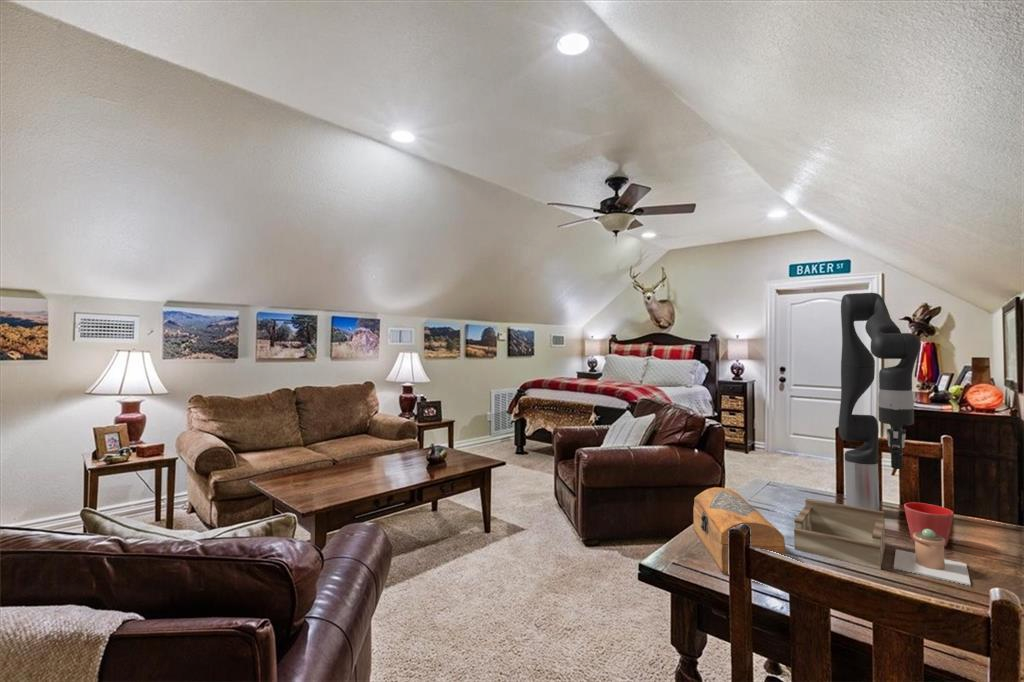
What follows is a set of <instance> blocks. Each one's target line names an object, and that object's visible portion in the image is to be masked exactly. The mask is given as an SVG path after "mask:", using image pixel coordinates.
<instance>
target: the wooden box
mask: <svg viewBox="0 0 1024 682" xmlns="http://www.w3.org/2000/svg"><path fill="white" fill-rule="evenodd" d="M693 501H694V503H693V514H692V515H693V531H694V533H695V535H696V536H697V538H698V539H699V541H700V542H701V544H702V545H703V546H704V548H705V549H706V550H707V552H708V553H709V555H710V557H711V558H712V560H713V561H714V563H715V565H716V566H717V568H718V570H719V571H720V572H721V574H722V575H724V576H729V575H728V531H729V529H731V528H733V527H736V526H737V525H740V524H747V525H748V526H749V527H750V529H751V545H752V546H753V547H756V548H760V549H765V550H769V551H773V552H776V553H779V554H781V555H784V556H786V554H787V553H786V547H785V546H786V545H785V544H786V543H785V542H786V541H785V537H784V535H783V534H782V533H781V531H779V530H778V529H777V527H776V526H774V525H773V524H772V523H771V522H770V521H768V519H766V518H765V517H764V516H763V515H762V513H760V512H759V511H758V510H757V509H756V508H755V507H754V506H752V505H751V503H749V502H748V501H747V500H746V499H745V498H743V497H742V496H741V495H740V494H739V493H737V492H736V491H734V490H732V489H729V488H727V487H726V488H725V487H710V488H707V489H705V490H703V491H702V492H700V493H699V494H697V495H696V496H695V497H694V500H693Z"/></svg>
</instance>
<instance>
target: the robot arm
mask: <svg viewBox="0 0 1024 682" xmlns="http://www.w3.org/2000/svg"><path fill="white" fill-rule="evenodd" d="M840 319H841V337H842V338H841V341H842V342H841V343H842V344H841V356H840V357H841V359H840V384H841V385H840V392H841V393H840V405H839V415H838V435H839V437H840V439H841V440H842V441H846V442H858V443H861V442H862V443H863V444H862V445H860V446H859V447H856V448H853V449H849V450H847V451H845V452H844V476H845V477H844V478H845V479H844V481H845V485H844V486H845V487H844V488H845V505H848V506H854V507H860V508H866V509H872V510H878V511H880V490H879V489H880V488H879V487H880V486H879V485H880V484H879V423H882V424H885V425H886V424H887V425H889V426H890V428H886V437H887V445H888V447H889V453H890V466H891V467H890V468H891V469H893V470H894V469H896V470H901V469H903V467H902V466H903V454H904V452H903V451H904V450H903V449H904V448H905V439H906V434H907V433H906V429H903V427H904V426H912V425H914V424H915V409H914V408H915V407H914V406H915V405H914V402H915V401H914V394H913V372H914V368H915V364H916V361H917V358H918V356H919V353H920V350H921V341H920V339H919V338H918V336H917V335H916V334H914V333H912V332H910V333H909V332H902V331H901V329H900V328H899V326H898V325H897V324H896V323H895V322H894V321H893V319H892V318H891V316H890V312H889V309H888V307H887V305H886V302H885V300H884V298H883V296H882V295H881V294H879V293H877V292H859V293H846V294H844V295H843V296H842V299H841V302H840ZM865 321H866V322H865ZM855 322H865V329H864V330H865V332H866V334H867V335H868V336H869V338H870V340H871V341H870V350H869V349H868V347H867V346H866V345H865V344H864V342H863V341H862V339H861V338H860V337H859V335H858V333H857V330H856V327H855ZM874 357H876V358H878V359H882V360H900V361H899V363H898V364H897V365H894V366H890V367H888V366H887V367H884V368H881V369H880V370H879V372H878V381H879V382H878V388H879V389H878V394H877V395H878V397H877V399H878V400H877V401H878V403H877V404H878V406H877V407H878V408H877V409H878V420H877V417H876V416H874V415H870V414H854V413H853V412H854V408H855V407H856V404H857V402H858V401H859V400H860V398H861V396H862V395H864V393H865V392H866V391H867V390H868V389H869V388H870V386H871V385H872V383H873V382H874V380H875V372H876V369H875V368H876V360H875V358H874Z"/></svg>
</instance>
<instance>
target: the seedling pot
mask: <svg viewBox="0 0 1024 682" xmlns="http://www.w3.org/2000/svg"><path fill="white" fill-rule="evenodd" d="M913 539H914V540H915V541H914V540H913ZM913 539H912V540H913V541H914V553H915V558H916V563H917V564H919V565H921V566H923V567H926V568H930V569H937V570H942V569H945V547H944V545H945V539H944V538H942V537H940V536H937V535H935V533H934V532H933V531H932V530H930V529H924V530H923V531H922V532H917V533H913Z"/></svg>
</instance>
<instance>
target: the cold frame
mask: <svg viewBox="0 0 1024 682" xmlns="http://www.w3.org/2000/svg"><path fill="white" fill-rule="evenodd" d="M804 502H805V505H804V506H803V508H802V509H801V511H800V512H799V513H798V514H797V516H796V517H795V519H794V529H793V532H794V533H793V534H794V535H793V536H794V539H793V541H794V544H793V545H794V550H796V551H800V552H804V553H808V554H813V555H818V556H821V557H826V558H830V559H834V560H839V561H843V562H847V563H852V564H855V565H861V566H864V567H869V568H873V569H877V570H881V569H882V564H883V559H884V555H885V548H886V538H885V537H886V533H885V532H886V531H885V527H886V526H885V521H886V520H885V511H883V510H879V511H878V510H872V509H866V508H860V507H854V506H848V505H846V504H841V503H837V502H836V503H835V502H830V501H823V500H818V499H810V498H807V497H806V498H805V500H804Z"/></svg>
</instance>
